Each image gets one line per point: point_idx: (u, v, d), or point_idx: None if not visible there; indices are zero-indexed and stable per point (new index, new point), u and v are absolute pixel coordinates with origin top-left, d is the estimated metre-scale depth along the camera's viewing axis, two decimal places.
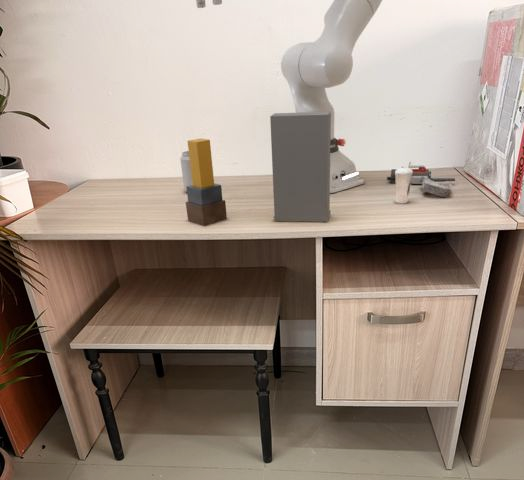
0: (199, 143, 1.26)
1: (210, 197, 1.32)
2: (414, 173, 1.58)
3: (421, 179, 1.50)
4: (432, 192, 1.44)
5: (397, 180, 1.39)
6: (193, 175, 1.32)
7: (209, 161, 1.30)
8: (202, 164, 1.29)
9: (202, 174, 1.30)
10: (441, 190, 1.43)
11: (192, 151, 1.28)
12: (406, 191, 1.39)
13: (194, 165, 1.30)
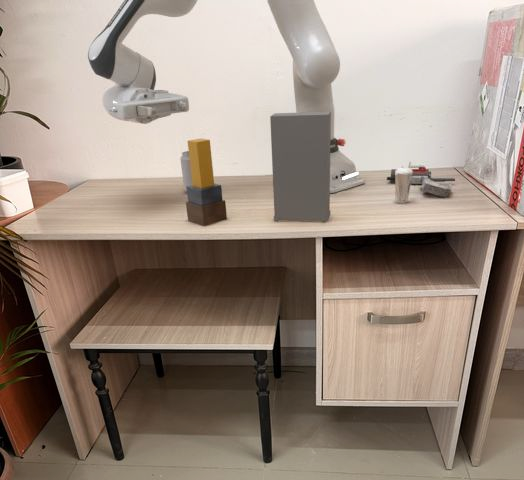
0: (199, 143, 1.26)
1: (210, 197, 1.32)
2: (414, 173, 1.58)
3: (421, 179, 1.50)
4: (432, 192, 1.44)
5: (397, 180, 1.39)
6: (193, 175, 1.32)
7: (209, 161, 1.30)
8: (202, 164, 1.29)
9: (202, 174, 1.30)
10: (441, 190, 1.43)
11: (192, 151, 1.28)
12: (406, 191, 1.39)
13: (194, 165, 1.30)
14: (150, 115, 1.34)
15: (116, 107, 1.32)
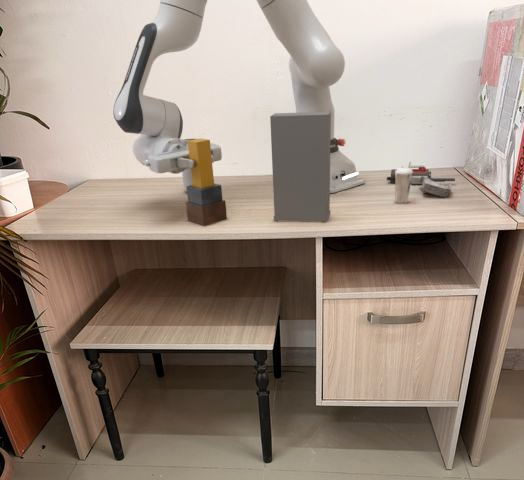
0: (199, 143, 1.26)
1: (210, 197, 1.32)
2: (414, 173, 1.58)
3: (421, 179, 1.50)
4: (432, 192, 1.44)
5: (397, 180, 1.39)
6: (193, 175, 1.32)
7: (209, 161, 1.30)
8: (202, 164, 1.29)
9: (202, 174, 1.30)
10: (441, 190, 1.43)
11: (192, 151, 1.28)
12: (406, 191, 1.39)
13: None
14: (184, 167, 1.32)
15: (149, 161, 1.30)
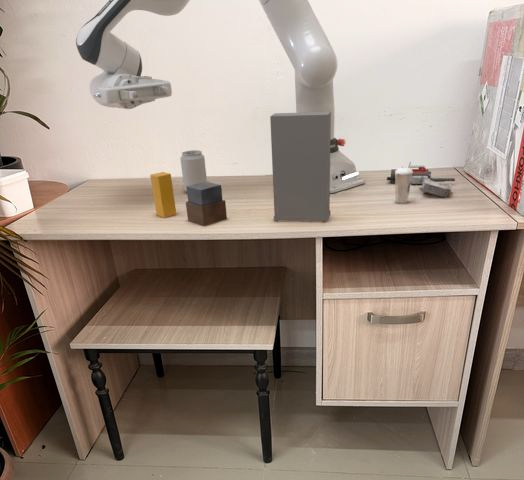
0: (160, 177, 1.37)
1: (210, 197, 1.32)
2: (414, 173, 1.58)
3: (421, 179, 1.50)
4: (432, 192, 1.44)
5: (397, 180, 1.39)
6: (156, 205, 1.43)
7: (170, 193, 1.41)
8: (164, 196, 1.40)
9: (164, 204, 1.41)
10: (441, 190, 1.43)
11: (154, 184, 1.39)
12: (406, 191, 1.39)
13: (157, 196, 1.41)
14: (133, 99, 1.39)
15: (100, 92, 1.37)
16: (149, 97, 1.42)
